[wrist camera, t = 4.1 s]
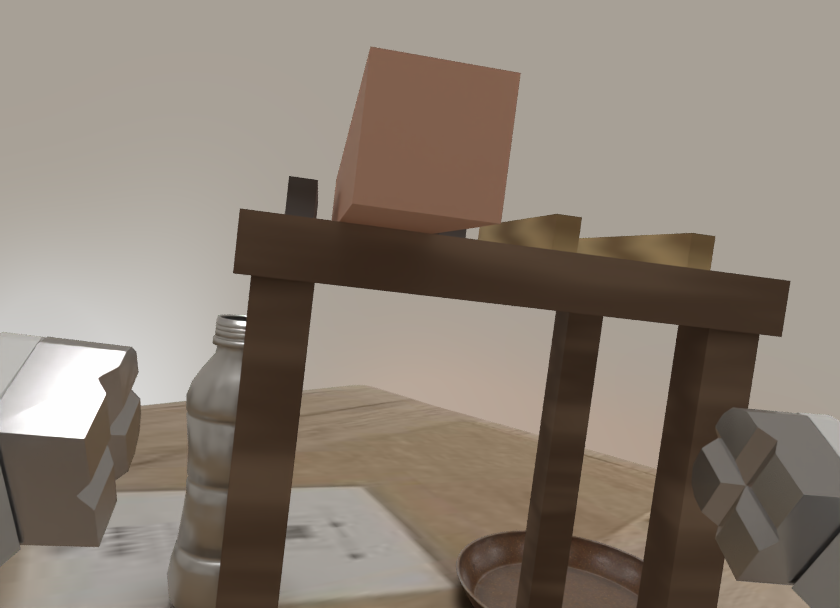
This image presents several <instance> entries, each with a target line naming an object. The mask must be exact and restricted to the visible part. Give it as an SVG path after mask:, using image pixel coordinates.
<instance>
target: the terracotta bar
mask: <svg viewBox="0 0 840 608" xmlns="http://www.w3.org/2000/svg"><path fill="white" fill-rule="evenodd" d="M519 81H520V73H518V72H512V71H506V70H501V69H495V68H489V67H483V66H478V65H472V64H466V63H461V62H455V61H449V60H444V59H438V58H433V57H427V56H421V55H416V54H409V53H404V52H398V51H392V50H386V49H381V48H376V47H370V51H369V55H368V59H367V62H366V66H365V70H364V74H363V78H362V82H361V86H360V90H359V94H358V97H357V101H356V105H355V109H354V113H353V117H352V121H351V125H350V129H349V133H348V137H347V141H346V144H345V148H344V152H343V156H342V160H341V164H340V168H339V171H338V175H337V179H336V187H335V196H334V206H333V214H332V221H338V222H346V223H354V224H361V225H369V226H376V227H384V228H391V229H399V230H407V231H414V232H422V233H429V234H435V233H442V232H449V231H455V230H462V229H469V228H475V227H483V226H489V225H496V224H501V219H502V211H503V203H504V195H505V187H506V180H507V173H508V165H509V157H510V150H511V142H512V134H513V127H514V119H515V112H516V104H517V96H518V89H519Z"/></svg>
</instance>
